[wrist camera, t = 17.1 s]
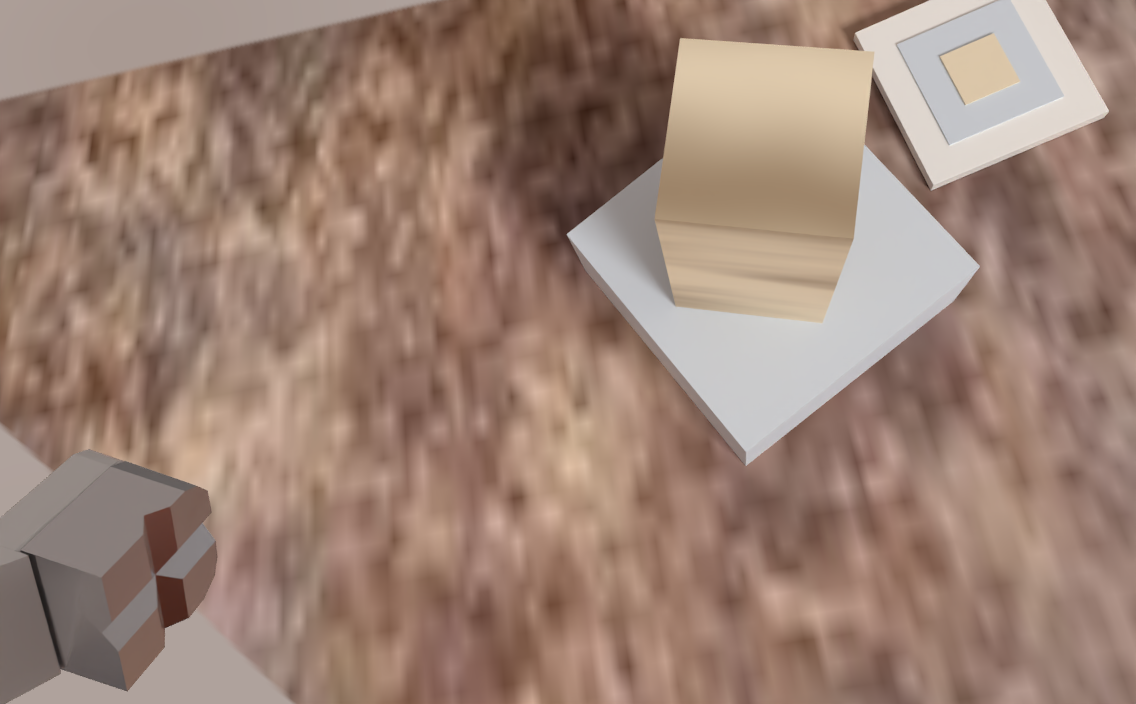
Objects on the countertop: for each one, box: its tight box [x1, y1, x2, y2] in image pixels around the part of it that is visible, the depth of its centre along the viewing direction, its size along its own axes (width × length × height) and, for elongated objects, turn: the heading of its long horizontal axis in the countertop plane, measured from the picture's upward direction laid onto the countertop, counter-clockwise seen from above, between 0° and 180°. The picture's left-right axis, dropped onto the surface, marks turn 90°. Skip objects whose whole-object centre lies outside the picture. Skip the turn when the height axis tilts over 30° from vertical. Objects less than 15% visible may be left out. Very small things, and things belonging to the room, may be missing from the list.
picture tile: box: [854, 0, 1109, 190], centre depth 42 cm, size 7×7×1 cm
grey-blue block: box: [567, 145, 980, 466], centre depth 40 cm, size 10×10×5 cm
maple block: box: [655, 38, 874, 323], centre depth 32 cm, size 5×5×10 cm
